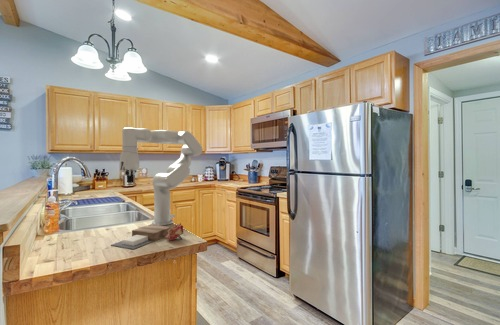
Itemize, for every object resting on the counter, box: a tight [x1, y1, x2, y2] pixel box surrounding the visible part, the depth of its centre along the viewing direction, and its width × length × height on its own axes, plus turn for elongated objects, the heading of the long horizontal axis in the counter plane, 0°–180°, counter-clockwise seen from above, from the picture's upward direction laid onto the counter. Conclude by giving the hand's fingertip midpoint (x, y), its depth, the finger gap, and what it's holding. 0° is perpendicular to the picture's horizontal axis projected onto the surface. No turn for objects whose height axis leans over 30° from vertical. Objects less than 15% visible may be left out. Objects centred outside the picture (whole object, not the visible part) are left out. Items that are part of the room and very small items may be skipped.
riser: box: [131, 224, 172, 243], centre depth 134 cm, size 13×14×4 cm
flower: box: [164, 222, 185, 241], centre depth 128 cm, size 10×9×8 cm
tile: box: [121, 235, 148, 246], centre depth 123 cm, size 9×7×2 cm
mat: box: [110, 240, 153, 251], centre depth 122 cm, size 12×14×1 cm
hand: (130, 182), depth 144 cm, fingers closed
